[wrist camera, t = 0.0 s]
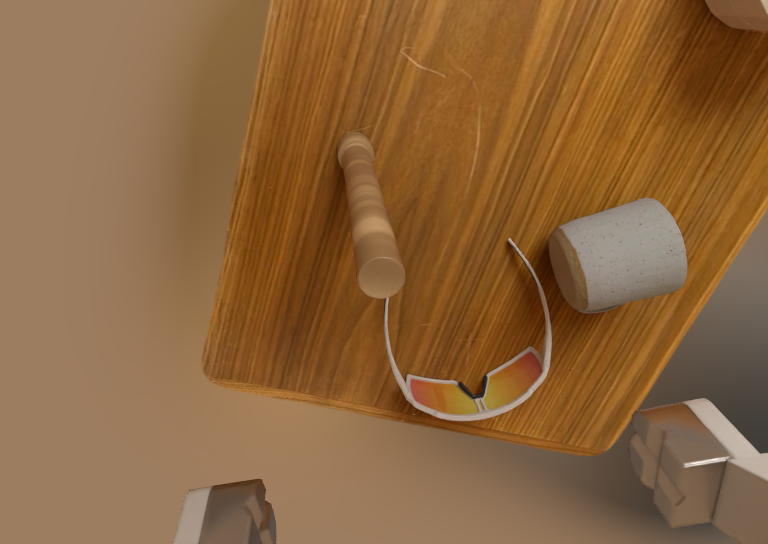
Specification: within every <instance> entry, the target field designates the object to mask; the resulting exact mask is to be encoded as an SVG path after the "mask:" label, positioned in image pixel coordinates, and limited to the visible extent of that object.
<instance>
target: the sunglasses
mask: <svg viewBox="0 0 768 544" xmlns="http://www.w3.org/2000/svg"><path fill="white" fill-rule="evenodd" d="M508 242H509V243H510V245H511V246H512V247H513V248H514V250H515V251H516V252H517V253H518V255H519V256H520V257H521V259H522V260H523V262H524V263H525V265H526V266H527V268H528V269H529V271H530V273H531V275H532V277H533V279H534V281H535V283H536V285H537V288H538V290H539V293H540V297H541V301H542V304H543V308H544V313H545V322H546V332H545V337H544V341H543V347H542V352H543V353H542V356H541V355H540V354H539V353H538V352H537V351H536V350H535V349H534V348H533V347H531V346H530V347H528V348H527V349H525V350H524V351H523V352H521V353H520V354H518V355H517V356H516V357H514V358H513V359H511V360H510V361H508V362H506V363H505V364H503V365H502V366H500V367H498V368H497V369H495V370H493V371H491V372H489V373H487V375H486V376H484V379H483V387H482V393H479V394H474V395H473V394H472V393H471V392H470V391H469V390H468V388H467V387H466V386H465V385H464V384H463V383H462V382H459V383H458V382H457V381H451V380H436V379H430V378H424V377H419V376H414V375H410V374H408V375H407V377H406V382H405V380H404V379H403V377H402V376H401V374H400V372H399V370H398V369H397V367H396V364H395V361H394V358H393V356H392V352H391V347H390V343H389V338H388V305H389V298H385V305H384V334H385V342H386V347H387V352H388V357H389V360H390V364H391V367H392V370H393V373H394V375H395V378H396V380H397V382H398V384H399V386H400V388H401V390H402V392H403V394H404V396H405V398H406V400H407V401H408V402H410V403H411V404H412V405H413V406H414V407H416V408H418V409H419V410H421V411H424V412H426V413H428V414H431V415H433V416H435V417H438V418H441V419H446V420H452V421H473V420H482V419H486V418H490V417H494V416H497V415H499V414H502V413H505V412H507V411H509V410H511V409H513V408H515V407H516V406H518V405H519V404H521V403H522V402H524V401H525V400H526V399H527V398H529V397H530V396H531V395H532V393H533V392H534V391H535V390H536V389H537V387H538V386H539V385H540V384H541V383H542V382H543V380H544V379H545V378H546V376H547V372H548V370H549V368H550V359H551V345H552V335H551V325H550V318H549V311H548V307H547V302H546V298H545V295H544V291H543V289H542V286H541V283H540V281H539V279H538V277H537V276H536V274H535V272H534V270H533V268H532V266H531V265H530V264H529V262H528V261H527V259H526V258H525V257H524V255H523V254H522V252H521V251H520V250H519V249H518V247H517V246H516V245H515V243H514V242H513V241H512V240H511V239H510V238H509V239H508Z"/></svg>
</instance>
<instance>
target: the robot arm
mask: <svg viewBox="0 0 768 544" xmlns="http://www.w3.org/2000/svg"><path fill="white" fill-rule="evenodd" d="M631 425H632V426H633V428H634V429H635V430H636V432H635V433H634V434H633V435H632V436H631V438H630V439H629V449H628V451H629V455H630V460H631V464H632V466H633V468H634V471H635V473H636V474H637V476H638V478H639V479H640V481H641V482H642V483H643V484H645V485H646V486H648V487H650V488H651V489H653V490H655V491H654V499H653V501H654V503H655V504H656V505H657V507H658V509H659V510H660V512H661V513H662V515H663V516H664V518H665V519H666V521H667V522H668V524H669V525H670V527H671V528H674V527H680V526H687V525H694V524H700V523H707V522H712V524H713V525H714V526H716V527H717V528H719V529H720V530H721V531H723V532H724V533H726V534H727V535H729V536H730V537H732V538H733V539H734V540H736V541H737V542H739V543H740V544H768V453H763V454H759V452H758V451H757V450H756V449H755V448H754V447H753V446H752V445H751V444H750V443H749V442H748V441H747V440H746V439H745V437H743V435H742V434H741V433H740V432H739V431H738V430H737V429H736V428H735V427H734V426H733V425H732V424H731V423H730V422H729V421H728V420H727V419H726V418H725V417H724V416H723V414H722V413H720V411H719V410H718V409H717V408H716V407H715V406H714V405H713V404H712V403H711V402H710V401H709V400H707V399H704V398H701V399H695V400H691V401H685V402H681V403H673V404H668V405H663V406H658V407H652V408H647V409H642V410H636V411H635V412H634V413H633V415H632V419H631ZM265 493H266V489H265V486H264V484H263V481H262V480H261V479H254V480H249V481H241V482H235V483H229V484H222V485H215V486H211V487H205V488H198V489H192V490H189V492H188V493H187V495H186V496H185V499H184V502H183V506H182V510H181V513H180V517H179V521H178V525H177V528H176V532H175V535H174V540H173V543H172V544H276V522H275V517H274V512H273V509H272V506H271V504H270V503H269V502H267V501H265Z"/></svg>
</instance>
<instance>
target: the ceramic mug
mask: <svg viewBox="0 0 768 544" xmlns="http://www.w3.org/2000/svg"><path fill="white" fill-rule="evenodd" d="M549 254H550V260H551V264H552V268H553V272H554V275H555V278H556V281H557V284H558V286H559V288H560V291H561V293H562V295H563V296H564V298H565V300H566V301H567V302H568V304H569V305H570V306H571V307H573V308H574V309H576V310H578V311H579V312H582V313H588V314H591V313H600V312H605V311H609V310H612V309H614V308H617V307H619V306H621V305H623V304H625V303H627V302H631V301H636V300H641V299H645V298H650V297H654V296H659V295H663V294H668V293H671V292H674V291H677V290H679V289H680V288H681V287H682V286H683V284H684V282H685V280H686V275H687V258H686V250H685V245H684V241H683V237H682V235H681V232H680V230H679V228H678V226H677V225H676V222H675V220H674V218H673V217H672V215H671V214H670V213H669V212H668V210H667V209H666V208H665V207H664V206H663V205H662V204H661V203H660V202H659V201H657V200H655V199H653V198H642V199H639V200H636V201H633V202H630V203H627V204H624V205H621V206H618V207H614V208H611V209H608V210H605V211H602V212H599V213H596V214H593V215H590V216H586V217H582V218H579V219H576V220H573V221H570V222H568V223H566V224H564V225H561V226H560V227H558V228H556V229H555V230H554V231H553V232H552V234H551V236H550V238H549Z"/></svg>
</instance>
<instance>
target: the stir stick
mask: <svg viewBox="0 0 768 544" xmlns="http://www.w3.org/2000/svg"><path fill="white" fill-rule="evenodd" d="M337 153H338V161H339V164H340V166H341V167H342V168H343V170H344V176H345V185H346V193H347V201H348V209H349V217H350V225H351V233H352V241H353V250H354V258H355V266H356V274H357V282H358V285H359V287H360V289H361V290H362V292H363V293H365V294H366V295H367V296H369V297H372V298H376V299H385V298H389V297H391V296H393V295H395V294H396V293H397V292H399V290H400V289H401V288H402V286H403V284H404V282H405V271H404V267H403V264H402V261H401V257H400V254H399V250H398V247H397V244H396V240H395V237H394V233H393V230H392V227H391V223H390V220H389V216H388V213H387V210H386V206H385V203H384V199H383V196H382V193H381V189H380V186H379V182H378V179H377V176H376V172H375V169H374V165H373V162H374V157H375V155H374V150H373V147H372V144H371V142H370V140H369V139H368V137H366V136H365V135H364V134H362V133H359V132H351V133H348V134H346V135H344V136H343V137H342V138H341V139H340V141H339V143H338V146H337Z"/></svg>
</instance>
